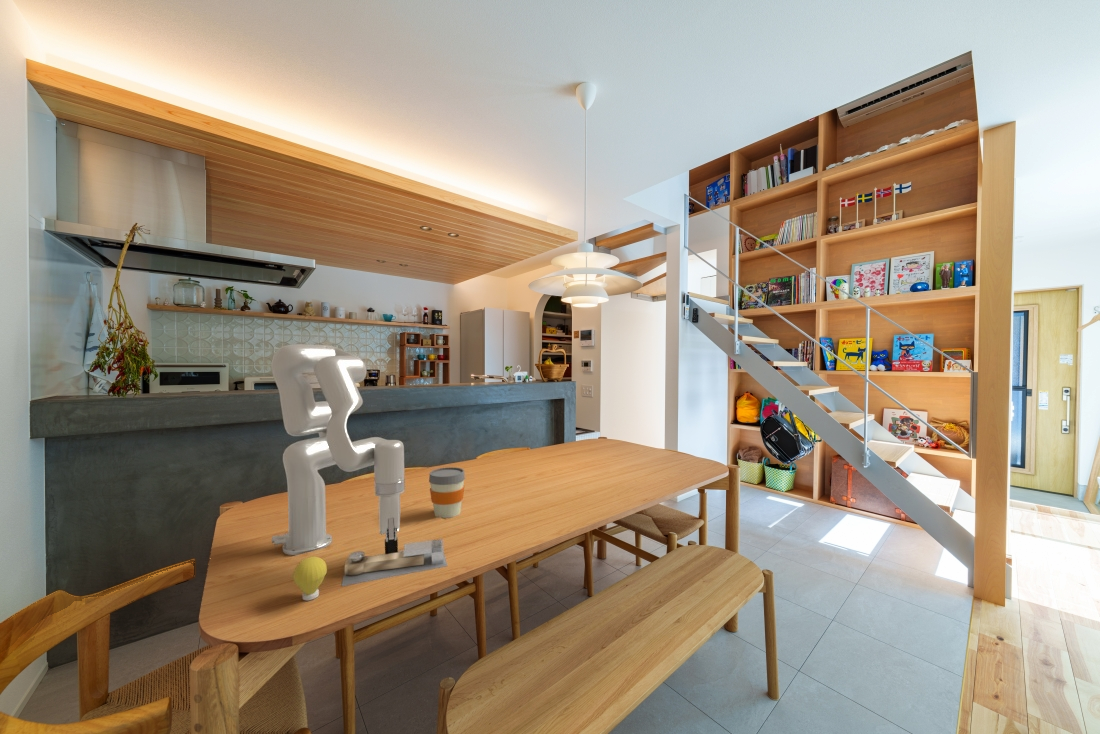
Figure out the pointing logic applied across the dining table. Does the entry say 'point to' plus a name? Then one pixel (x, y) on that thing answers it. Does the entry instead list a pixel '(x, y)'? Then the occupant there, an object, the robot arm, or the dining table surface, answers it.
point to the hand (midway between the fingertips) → (391, 553)
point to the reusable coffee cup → (447, 491)
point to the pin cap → (356, 556)
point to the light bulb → (310, 576)
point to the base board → (392, 571)
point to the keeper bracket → (426, 549)
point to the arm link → (382, 563)
